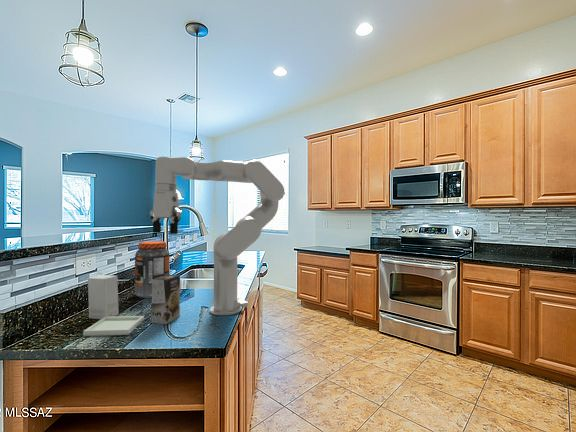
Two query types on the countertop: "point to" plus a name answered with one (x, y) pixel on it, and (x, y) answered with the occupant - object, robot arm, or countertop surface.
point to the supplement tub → (150, 266)
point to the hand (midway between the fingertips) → (165, 233)
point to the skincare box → (103, 296)
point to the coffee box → (165, 299)
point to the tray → (114, 326)
